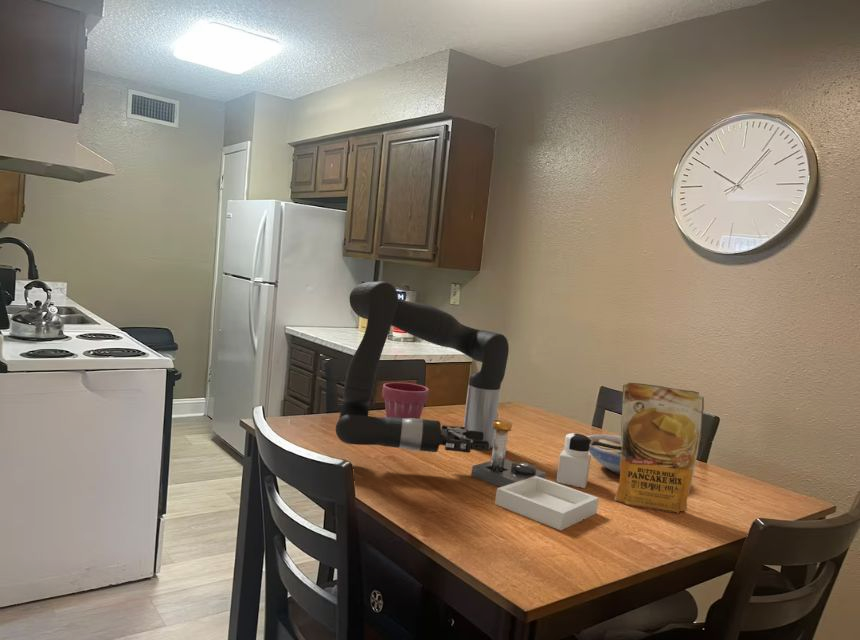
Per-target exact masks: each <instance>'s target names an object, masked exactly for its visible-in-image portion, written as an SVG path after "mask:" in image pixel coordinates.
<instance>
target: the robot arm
mask: <svg viewBox="0 0 860 640" xmlns="http://www.w3.org/2000/svg"><path fill="white" fill-rule="evenodd" d="M349 305H350V307H351V309H352V311H353V312H354V313H355V315H357V316H358V317H359V318H362V319H365V320H367V321H366V327H365V331H364V334H363V336H362V340H360V341H361V342H360V343H359V345H358V346H357V349H356V350H355V352H354V353H353V356H352V358H351V360H350V362H349V365H348V368H347V372H346V376H345V380H344V386H343V394H342V399H343V401H342V404H341V409H340V413H339V416H338V417H339V418H338V421H337V422H336V424H335V434H336V436H337V438H338V439H339V441H341V442H342V443H344V444H348V445H359V446H360V445H362V446H375V445H376V446H381V447H387V448H398V449H399V448H400V449H403V450H408V451H420V452H429V453H437V452H438V451H439V449H440V446H445V447H444V450H445V451H450V452H452V451H453V452H460V453H468V454H469V453H471V451H473V450H474V451H486V452H487V451H488V450H489V449H493V442H494V434H495V429H494V428H493V421H494V420H499V413H498V408H499V401H500V393H501V385H502V383H503V381H504V378H505V375H506V369H507V364H508V358H509V357H508V356H509V350H510V347H509V342H508V338H507V337H506V336H505V335H504V334H501V333H498V332H494V331H488V330H483V329H478V328H477V329H476V328H474V327H470V326H467V325H464V324H462V323H461V322H459V320H458V319H457V318H455V316H453V315H452V314H450V313H449V312H446V311H444V310H441V309H440V308H437V307H435V306H432V305H428V304H425V303H420V302H414V301H410V300H404V299H400V298H399V294H398V291H397V289H396V287H394V285H393V284H392V283H390V282H387V281H367V282H363V283H360V284H358V285H356V286H355V287H354V288H353V289H352V290H351V292H350V295H349ZM391 327H394V328H395V329H398V330H400V331H402V332H404V333H406V334H408V335H411V336H413V337H416V338H418V339H421V340H422V341H425V342H427V343H431V344H433V345H436V346H439V347H440V346H441V347H445V348H449V349H453V350H456V351H458V352H460V353H462V354H464V355H466V356H467V357H469V358H471V359H472V360H474V361H476V362H479V363H481V368H480V370H479V371H478V372H476V373H472V374H471V375H470V376H469V378H468V379H469V380H468V386H467V392H466V393H467V394H466V395H467V396H466V401H465V402H466V404H465V410H464V420H463V426H456V425H455V426H454V425H445V424H442V425H441V421H440V420H435V419H425V418H423V419H422V418H420V419H415V418H394V417H386V416H381V417H380V416H379V417H378V416H369V412H370V403H371V401H372V398H373V393H374V388H375V383H376V378H377V373H378V367H379V365H380V360H381V357H382V353H383V350H384V347H385V343H386V341H387V339H388V335H389V334H390V333H389V332H390V329H391Z"/></svg>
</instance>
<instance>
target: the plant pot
mask: <svg viewBox="0 0 860 640" xmlns="http://www.w3.org/2000/svg"><path fill="white" fill-rule="evenodd" d="M429 390H430V389H429V388H428V387H427V386H424V385H421V384H418V383H417V384H416V383H413V382H412V383H410V382H402V381H401V382H400V381H399V382H397V381H394V382H387V383H383V385H382V391H381V397H382V398H383V399H384V406H385V407H384V408H385V417H394V418H415V419H421V415H422V413H423V410H424V407H425V403H427V402H428V401H429V395H430V394H429V393H430V391H429Z"/></svg>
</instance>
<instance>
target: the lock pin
mask: <svg viewBox="0 0 860 640" xmlns="http://www.w3.org/2000/svg"><path fill="white" fill-rule="evenodd" d="M512 427H513V423H512V422H511V421H508V420H501V419H498V420H494V421H493V428H494V429H495V434H494V442H493V447H492V452H491V460H490V461H491V466H490V470H493V471H496V472H503V469H504V461H505V459H506V453H507V444H508V443H507V442H508V438H509V437H508V436H509V432H511V431H512V429H513V428H512Z"/></svg>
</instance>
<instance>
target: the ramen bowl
mask: <svg viewBox="0 0 860 640" xmlns="http://www.w3.org/2000/svg"><path fill="white" fill-rule="evenodd" d="M586 436H587V435H586ZM587 437H588V438H589V439H590V446H589V454H591V457H592V458H593V459H594V460H596V461H597V462H598V463H599V464H600V465H602V466H603V467H605V468H606V469H609V471H610V472H612V473H614V474H617V475H620V460H621V450H622V444H621V435H612V434H591V435H588V436H587Z"/></svg>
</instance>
